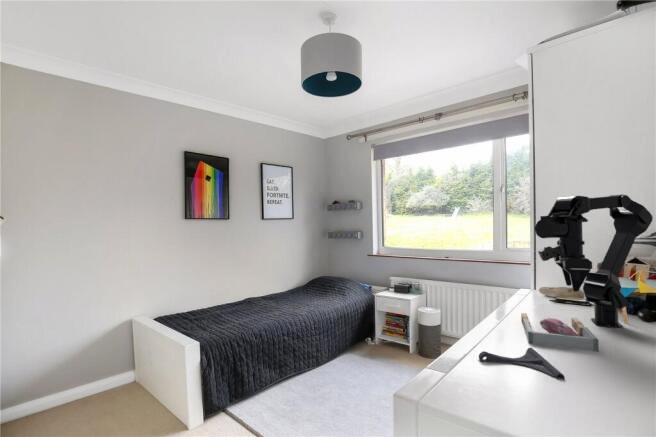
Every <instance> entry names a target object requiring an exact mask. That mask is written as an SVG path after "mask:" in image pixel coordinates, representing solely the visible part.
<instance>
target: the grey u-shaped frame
mask: <svg viewBox="0 0 656 437" xmlns="http://www.w3.org/2000/svg"><path fill="white" fill-rule="evenodd" d="M524 323H525V330H524V333H525V336H526V338H527V342H528V344H531V345H532V344H533V345H534V344H535V345H542V346H550V347H556V348H566V349H571V350H573V349H574V350H580V351H587V352H588V351H590V352H595V353H596V352H598V353H599V338H598V337H596V335H594V333H593V332H592V331H591V330H590V329H589V328H588V326H585V327H583V337H579V336H570V335H561V334H552V333H548V332H543V331H533V330H532V327H531V323H530V324H529V322H528V321H524Z"/></svg>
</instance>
